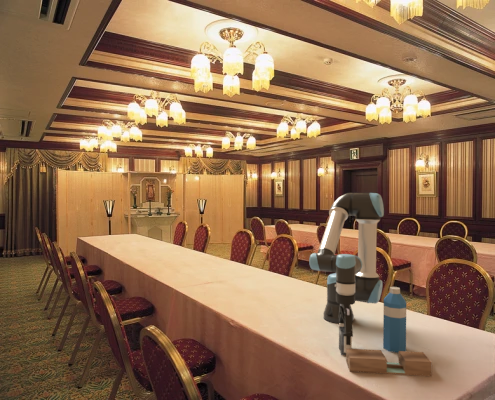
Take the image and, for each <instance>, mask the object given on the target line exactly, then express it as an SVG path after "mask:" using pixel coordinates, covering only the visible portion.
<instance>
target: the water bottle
mask: <svg viewBox="0 0 495 400" xmlns="http://www.w3.org/2000/svg"><path fill="white" fill-rule="evenodd" d="M382 328H383V329H382V330H383V335H382V336H383V337H382V339H383V342H382V344H383V345H382V347H383V349H385V350H386V351H388V352H391V353H398V354H399V351H407V301H406V300H405V297H404V296H403V295H402V293H401V288H400V287H397V286H389V293H387V295H386V296H385V297H384V298H383V327H382Z"/></svg>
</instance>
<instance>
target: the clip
mask: <svg viewBox="0 0 495 400" xmlns="http://www.w3.org/2000/svg"><path fill="white" fill-rule="evenodd" d="M343 334H345V330H344V327H340V326H339V325H338V349H339V351H340V355H341V356H346V353H344V336H343Z"/></svg>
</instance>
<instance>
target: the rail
mask: <svg viewBox="0 0 495 400" xmlns="http://www.w3.org/2000/svg"><path fill="white" fill-rule="evenodd" d="M345 357H346V358H345V362H346V365H347V368H348V370H349V372H350V373H364V374H365V373H367V374H382V375H383V374H385V375H401V376H402V375H403V376H421V377H432V375H433V374H432V372H433V371H432V366H433V365H432V363H433V362H432V361H431V359H429V357H428V356H427V355H426V354H425V353H424V352H423V351H407V350H406V351H399V353H398V361H397V362H392V361H391V362H388V359H387V358H386V357H385V355H384V353H383V350H380V349H364V348H363V349H362V348H352V349H346V355H345Z"/></svg>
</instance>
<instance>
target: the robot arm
mask: <svg viewBox="0 0 495 400" xmlns="http://www.w3.org/2000/svg"><path fill="white" fill-rule="evenodd" d="M384 213H385V210H384V202H383V198H382V195H381V194H379V193H376V192H347V193H344V194H343V195H341V196H339V197H338V198H337V199H336V200H334V202H333V203H332V204H331V206H330V208H329V211H328V214H329V217H328V220H327V224H326V227H325V230H324V233H323V235H322V237H321V238H322V239H321V241H320V243H319V247H318V250H317V252H313V253H311V254H310V255H309V259H308V260H309V267H310V269H311V270H313V271H319V272H330V274H329V275H328V276H327V277H326V278H327V281H326V296H327V297H326V304H325V308H324V310H323V319H324V320H326V321H327V322H331V323H333V324H334V323H335V324H338V327H339V326H340V327H344V330H345V334H343V336H344V353H346V349H353V348H352V342H353V340H352V338H353V337H354V334H353V333H354V332H353V322H354V320H355V315H354V312H353V308H352V306H351V305H355V304H356V302H358V303H359V302H360V303H361V302H362V303H366V304H377V303H379V302H380V299H381V297H382V296H381V295H382V292H383V285H384V284H383V281H382V280H381V279H380V275H379V274H378V273H377V237H378V236H377V233H378V231H377V230H378V223H379V222H380V221H381V218H382V217H384V215H385V214H384ZM351 216H353V217H355V220H356V222H358V230H357V231H358V232H357V233H358V234H357V235H358V236H357V237H358V238H357V239H358V240H357V242H358V245H357V255H354V254H349V253H340V254H337V255H336V250H337V247H338V244H339V241H340V237H341V235H342V231H343V228H344V224H345V221H346V220H347V219H348V218H349V217H351Z"/></svg>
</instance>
